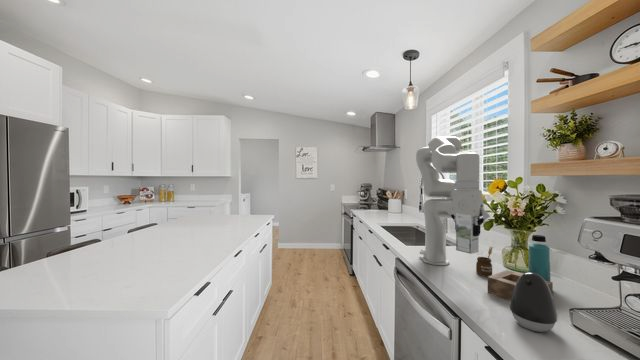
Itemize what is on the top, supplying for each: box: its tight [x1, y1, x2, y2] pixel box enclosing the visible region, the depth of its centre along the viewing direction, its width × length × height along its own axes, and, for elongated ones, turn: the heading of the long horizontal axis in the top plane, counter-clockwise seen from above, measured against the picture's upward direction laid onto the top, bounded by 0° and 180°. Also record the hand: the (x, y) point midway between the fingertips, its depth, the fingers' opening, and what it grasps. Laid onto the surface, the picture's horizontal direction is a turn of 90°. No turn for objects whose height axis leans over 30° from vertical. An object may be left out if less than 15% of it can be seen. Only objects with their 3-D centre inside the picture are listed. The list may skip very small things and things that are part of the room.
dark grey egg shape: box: [509, 271, 558, 333], centre depth 73 cm, size 10×10×15 cm
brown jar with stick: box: [475, 246, 493, 278], centre depth 113 cm, size 6×6×12 cm
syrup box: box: [455, 213, 480, 255], centre depth 97 cm, size 6×6×14 cm
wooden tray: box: [487, 270, 554, 302], centre depth 92 cm, size 14×14×6 cm
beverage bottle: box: [527, 234, 552, 282], centre depth 100 cm, size 6×7×20 cm
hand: (467, 233), depth 97 cm, fingers closed on syrup box, 5 cm apart
